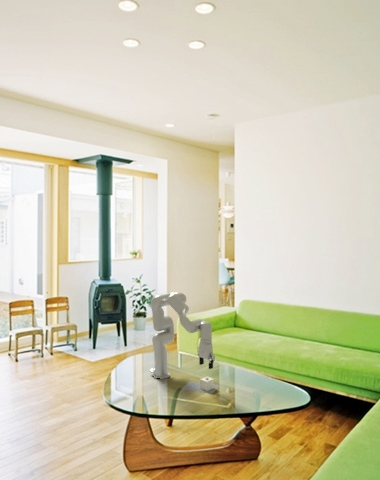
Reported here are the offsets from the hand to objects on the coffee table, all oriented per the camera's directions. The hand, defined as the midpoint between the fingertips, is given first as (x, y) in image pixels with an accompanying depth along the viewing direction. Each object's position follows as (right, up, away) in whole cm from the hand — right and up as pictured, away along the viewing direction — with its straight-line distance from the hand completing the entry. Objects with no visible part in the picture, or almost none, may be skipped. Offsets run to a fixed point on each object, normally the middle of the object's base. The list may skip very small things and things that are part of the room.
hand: (206, 366), depth 261 cm
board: (-4, -16, +2) cm, 16 cm away
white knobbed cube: (+1, -14, 0) cm, 14 cm away
